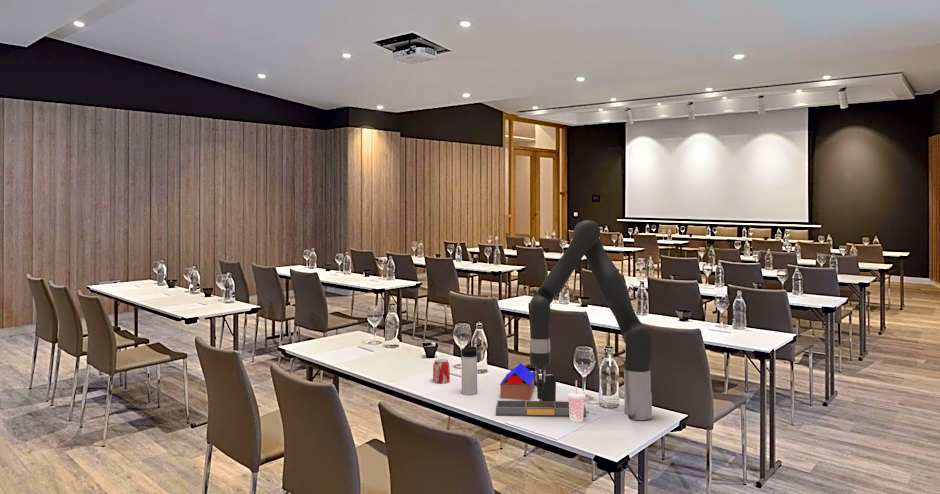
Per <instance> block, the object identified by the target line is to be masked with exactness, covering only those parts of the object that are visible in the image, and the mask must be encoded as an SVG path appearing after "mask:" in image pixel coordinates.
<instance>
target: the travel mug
mask: <svg viewBox="0 0 940 494" xmlns="http://www.w3.org/2000/svg"><path fill="white" fill-rule="evenodd" d="M461 394H462V395H464V396H475V395H476V396H477V395H478V348H477V347H476V346H469V347H468V346H467V347H464V348H462V349H461Z"/></svg>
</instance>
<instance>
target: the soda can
mask: <svg viewBox="0 0 940 494" xmlns="http://www.w3.org/2000/svg"><path fill="white" fill-rule="evenodd" d="M432 366H433V369H432V379H433V381H432V382H433V384H437V385H445V384H449V383H450V382H451V380H450V379H451V378H450V376H451V375H450V374H451V373H450V372H451V371H450V369H451V367H450V366H451V365H450V362H449V360H448V359H446V358H445V359H442V358H441V359H435V360H434V362H433V365H432Z"/></svg>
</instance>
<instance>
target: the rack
mask: <svg viewBox="0 0 940 494" xmlns="http://www.w3.org/2000/svg"><path fill="white" fill-rule="evenodd" d="M495 416H497V417H498V416H500V417H501V416H502V417H506V416H507V417H509V416H510V417H549V418H550V417H551V418H552V417H554V418H555V417H557V418H560V417H562V418H570V415H569V401H562V400H561V401H559V400H558V401H539V400H497V401H496V405H495ZM583 418H587V409H586V405H585V403H584V414H583Z"/></svg>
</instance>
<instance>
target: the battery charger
mask: <svg viewBox="0 0 940 494" xmlns="http://www.w3.org/2000/svg"><path fill="white" fill-rule="evenodd" d="M556 381H557V378H556V376H555V375H554V374H551V373H546V374H545V382H544V389H543V399H538V401H556V393H557V382H556Z"/></svg>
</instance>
